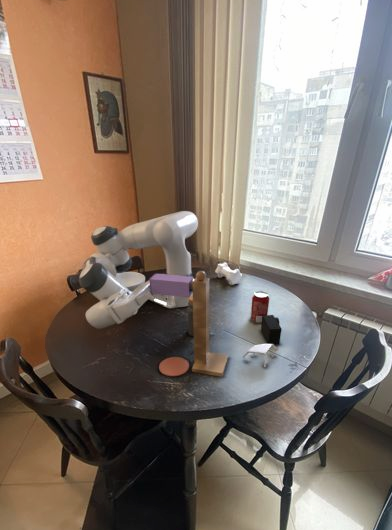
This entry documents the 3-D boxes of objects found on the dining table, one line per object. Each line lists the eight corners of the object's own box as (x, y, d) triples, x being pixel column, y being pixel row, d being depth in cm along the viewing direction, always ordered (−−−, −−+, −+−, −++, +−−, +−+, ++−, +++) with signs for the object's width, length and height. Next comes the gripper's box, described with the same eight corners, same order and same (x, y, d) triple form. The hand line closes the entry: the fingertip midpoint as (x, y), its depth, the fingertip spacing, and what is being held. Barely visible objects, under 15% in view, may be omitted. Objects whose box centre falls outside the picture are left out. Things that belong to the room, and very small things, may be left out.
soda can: (266, 325, 122) (269, 298, 116) (249, 323, 124) (252, 297, 117) (266, 317, 128) (269, 291, 122) (250, 315, 129) (252, 290, 123)
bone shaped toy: (242, 283, 159) (243, 269, 154) (228, 287, 156) (229, 272, 151) (227, 274, 170) (227, 260, 166) (214, 277, 167) (214, 263, 163)
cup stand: (167, 367, 100) (159, 274, 83) (177, 350, 108) (171, 262, 91) (222, 376, 96) (225, 280, 78) (228, 358, 104) (232, 267, 86)
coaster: (153, 370, 99) (152, 369, 99) (170, 354, 106) (170, 353, 106) (178, 380, 95) (178, 379, 94) (194, 363, 102) (194, 362, 102)
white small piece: (260, 373, 97) (261, 360, 94) (241, 361, 102) (242, 349, 100) (283, 358, 103) (285, 346, 101) (264, 347, 109) (265, 336, 106)
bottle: (192, 337, 115) (191, 302, 107) (185, 330, 120) (184, 296, 112) (205, 333, 117) (205, 299, 109) (198, 327, 122) (198, 293, 114)
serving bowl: (121, 281, 165) (120, 269, 161) (154, 287, 157) (153, 275, 153) (95, 296, 149) (92, 283, 145) (130, 304, 141) (127, 290, 137)
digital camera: (282, 344, 110) (285, 328, 107) (268, 345, 110) (270, 329, 106) (274, 329, 119) (276, 314, 115) (260, 330, 119) (262, 315, 115)
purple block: (150, 293, 90) (149, 279, 88) (156, 287, 94) (155, 273, 91) (189, 297, 87) (188, 282, 85) (193, 291, 91) (193, 276, 88)
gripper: (143, 298, 107) (174, 283, 100) (115, 327, 90) (150, 311, 84) (133, 283, 105) (164, 266, 98) (102, 309, 88) (137, 292, 82)
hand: (157, 287), depth 91 cm, fingers open, 8 cm apart
